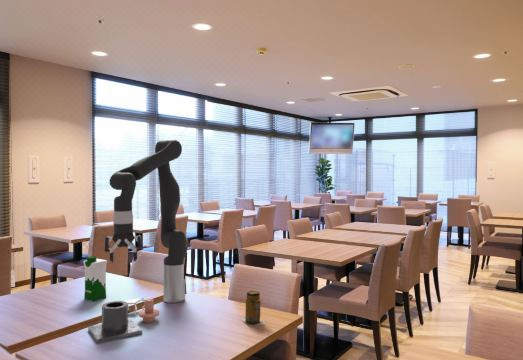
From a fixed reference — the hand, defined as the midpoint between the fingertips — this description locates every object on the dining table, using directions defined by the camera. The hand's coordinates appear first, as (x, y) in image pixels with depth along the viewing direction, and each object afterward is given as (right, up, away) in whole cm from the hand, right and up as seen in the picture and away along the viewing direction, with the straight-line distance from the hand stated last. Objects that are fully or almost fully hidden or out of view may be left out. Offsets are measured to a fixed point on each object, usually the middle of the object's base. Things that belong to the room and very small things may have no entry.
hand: (123, 261), depth 172 cm
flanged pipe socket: (+1, -24, -13) cm, 27 cm away
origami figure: (+1, -24, +11) cm, 26 cm away
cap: (+10, -24, 0) cm, 26 cm away
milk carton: (-23, -23, +28) cm, 43 cm away
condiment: (+53, -25, 0) cm, 58 cm away
